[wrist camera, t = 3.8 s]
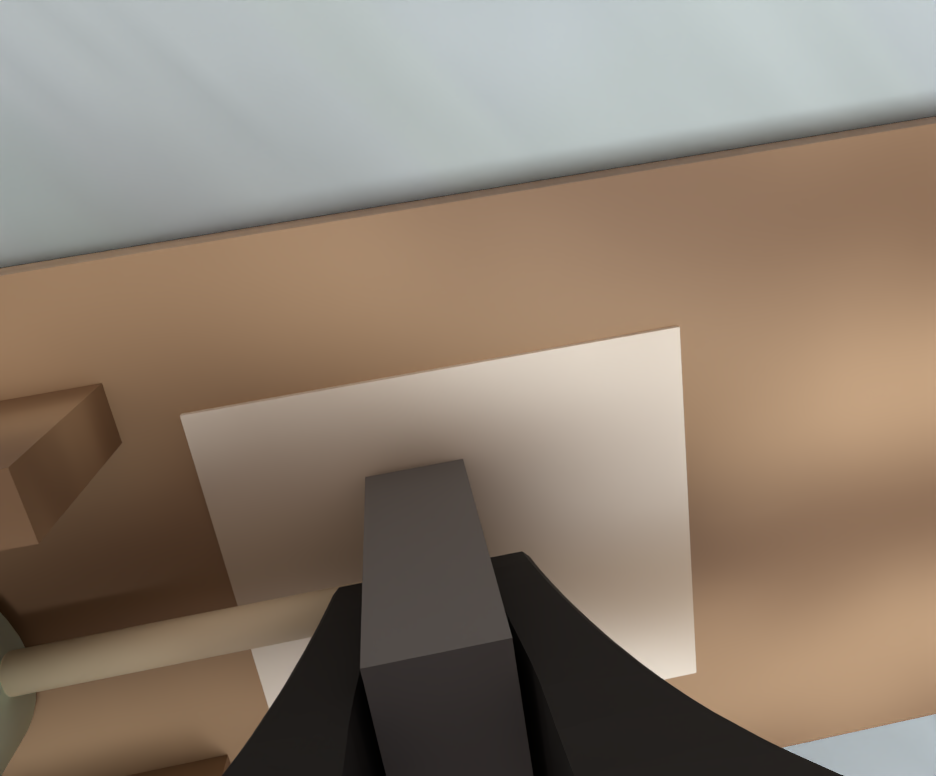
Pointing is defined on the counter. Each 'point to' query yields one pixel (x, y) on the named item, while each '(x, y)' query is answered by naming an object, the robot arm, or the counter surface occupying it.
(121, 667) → the grey-headed mallet
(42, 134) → the counter surface
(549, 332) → the shelf lane
